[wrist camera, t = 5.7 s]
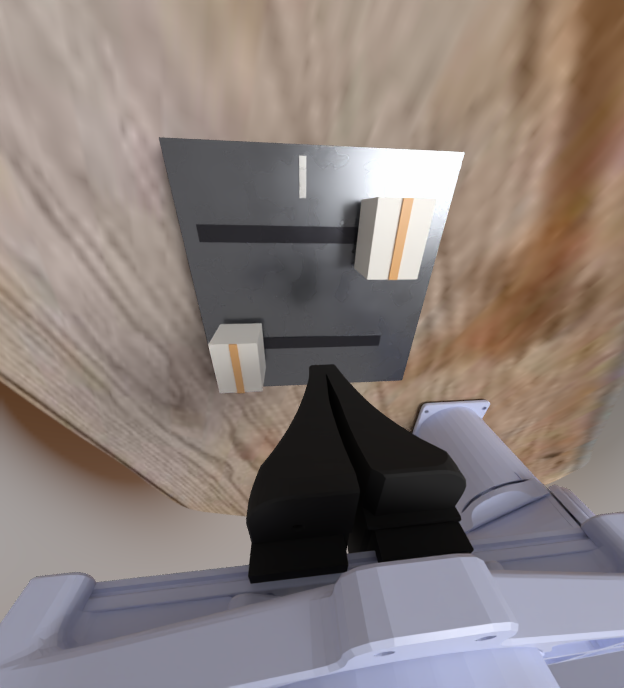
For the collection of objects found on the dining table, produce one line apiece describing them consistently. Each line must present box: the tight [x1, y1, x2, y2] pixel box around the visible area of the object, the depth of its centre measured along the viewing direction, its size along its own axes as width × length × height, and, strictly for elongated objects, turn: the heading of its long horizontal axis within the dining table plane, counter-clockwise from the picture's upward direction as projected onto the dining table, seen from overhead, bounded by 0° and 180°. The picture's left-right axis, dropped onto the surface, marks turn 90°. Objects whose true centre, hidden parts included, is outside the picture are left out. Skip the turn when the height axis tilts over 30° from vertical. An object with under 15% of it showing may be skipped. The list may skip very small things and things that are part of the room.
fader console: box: [159, 137, 465, 386], centre depth 18 cm, size 17×17×2 cm
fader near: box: [354, 197, 437, 280], centre depth 14 cm, size 4×3×3 cm
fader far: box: [208, 323, 266, 393], centre depth 17 cm, size 4×3×3 cm
